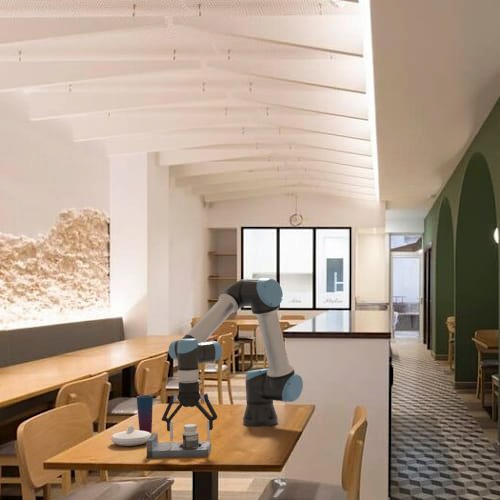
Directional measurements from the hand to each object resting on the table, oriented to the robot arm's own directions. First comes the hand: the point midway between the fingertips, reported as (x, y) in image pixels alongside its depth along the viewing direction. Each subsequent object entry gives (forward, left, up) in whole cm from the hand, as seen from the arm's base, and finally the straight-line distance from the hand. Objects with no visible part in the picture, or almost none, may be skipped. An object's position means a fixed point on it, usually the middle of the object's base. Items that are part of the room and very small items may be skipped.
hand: (190, 439), depth 264 cm
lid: (+25, -17, -5) cm, 31 cm away
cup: (+23, -38, -5) cm, 45 cm away
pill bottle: (0, 0, -5) cm, 5 cm away
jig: (+4, 0, -5) cm, 6 cm away
